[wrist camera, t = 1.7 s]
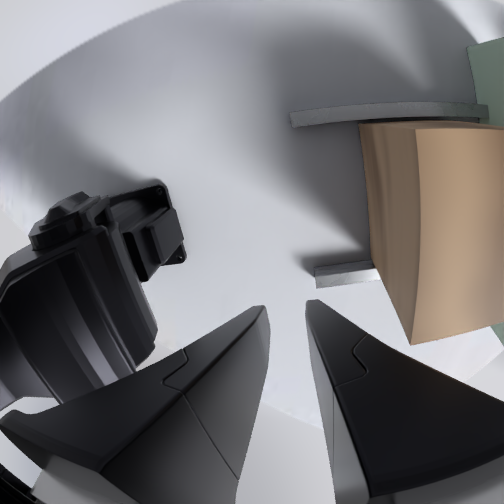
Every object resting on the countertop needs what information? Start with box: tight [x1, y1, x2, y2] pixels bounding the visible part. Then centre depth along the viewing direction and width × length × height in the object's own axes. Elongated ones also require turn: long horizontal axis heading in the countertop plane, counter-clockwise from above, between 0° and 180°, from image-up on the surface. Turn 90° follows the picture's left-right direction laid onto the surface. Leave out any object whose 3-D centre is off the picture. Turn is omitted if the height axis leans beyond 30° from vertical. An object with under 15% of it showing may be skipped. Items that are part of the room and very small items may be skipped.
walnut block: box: [358, 120, 504, 346], centre depth 15 cm, size 7×10×10 cm
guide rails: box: [289, 102, 489, 289], centre depth 19 cm, size 15×13×2 cm
